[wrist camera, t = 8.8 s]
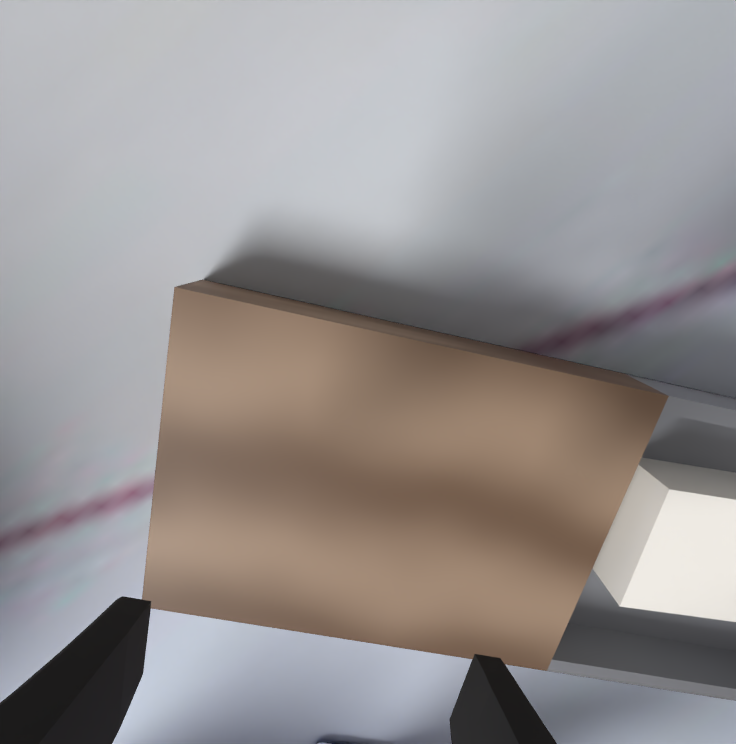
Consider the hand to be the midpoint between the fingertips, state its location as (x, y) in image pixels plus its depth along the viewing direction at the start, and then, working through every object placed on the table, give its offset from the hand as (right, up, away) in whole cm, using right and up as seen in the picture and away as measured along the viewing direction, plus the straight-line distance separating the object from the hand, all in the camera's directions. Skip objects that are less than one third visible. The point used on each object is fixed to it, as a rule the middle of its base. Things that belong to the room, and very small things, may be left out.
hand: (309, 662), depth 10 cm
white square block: (+13, 0, +9) cm, 16 cm away
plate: (+2, +2, +8) cm, 9 cm away
